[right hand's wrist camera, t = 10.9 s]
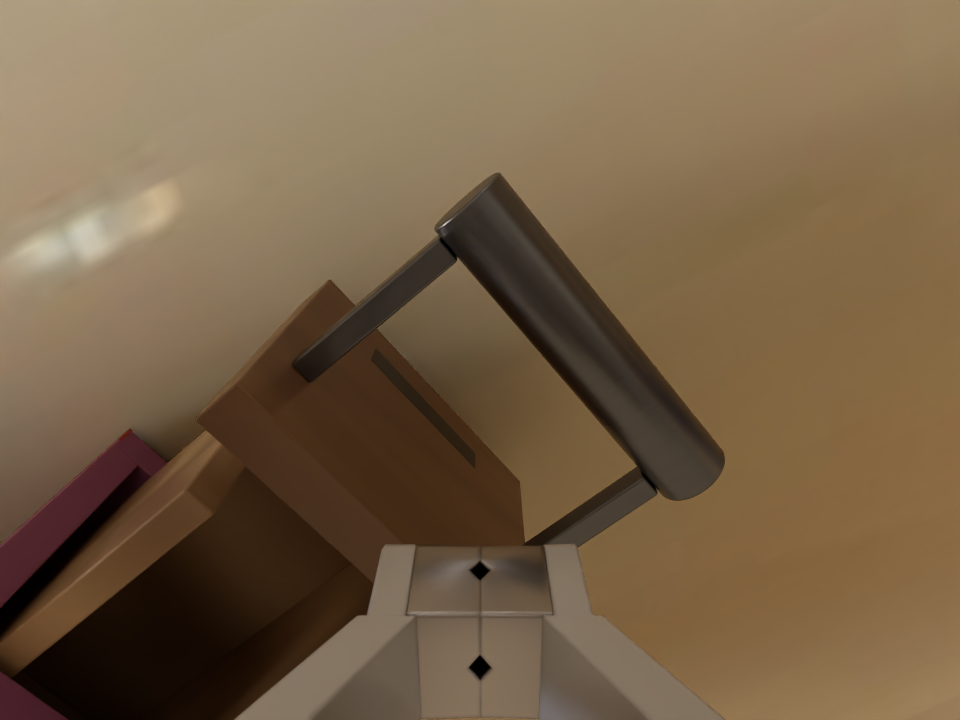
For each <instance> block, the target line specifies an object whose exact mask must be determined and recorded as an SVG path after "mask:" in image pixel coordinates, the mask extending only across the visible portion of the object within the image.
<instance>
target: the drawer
mask: <svg viewBox="0 0 960 720" xmlns="http://www.w3.org/2000/svg"><path fill="white" fill-rule="evenodd" d="M434 229H435V231H436V232H437V234H438V236H437V237H435V238H434V239H433V240H432V241H431V242H430V243H428V244H427V245H426V246H425V247H424V248H423V249H421V250H420V251H419V252H418V253H417V254H416V255H414V256H413V257H412V258H411V259H410V260H409V261H407V262H406V263H405V264H404V265H403V266H402V267H400V268H399V269H398V270H397V271H396V272H395V273H393V274H392V275H391V276H390V277H389V278H388V279H386V280H385V281H384V282H383V283H382V284H381V285H379V286H378V287H377V288H376V289H375V290H374V291H372V292H371V293H370V294H369V295H368V296H366V297H365V298H364V299H363V300H362V301H361V302H359V303H358V304H357V305H356V306H355V305H354V304H353V303H352V302H351V301H350V300H349V299H348V298H347V297H346V296H345V295H344V293H343V292H342V291H341V290H340V289H339V288H338V287H337V286H336V285H335V284H334V283H333V282H332V281H331V280H328V281H327V282H326V283H325V284H323V285H322V286H321V287H320V288H319V289H318V290H317V291H315V292H314V293H313V294H312V295H311V296H310V297H309V298H308V299H306V300H305V301H304V302H303V303H302V304H301V305H300V306H299V307H298V308H297V309H296V310H295V311H294V313H293V314H292V315H291V316H290V317H289V318H288V319H287V320H286V321H285V322H284V323H283V324H282V325H281V327H280V328H279V329H278V330H277V331H276V332H275V333H274V334H273V335H272V336H271V337H270V338H269V339H268V340H267V342H266V343H265V344H264V345H263V346H262V347H261V348H260V349H259V350H258V351H257V352H256V353H255V354H254V355H253V357H252V358H251V359H250V360H249V361H248V362H247V363H246V364H245V365H244V366H243V367H242V368H241V369H240V371H239V372H238V373H237V374H236V375H235V376H234V377H233V378H232V379H231V380H230V381H229V382H228V383H227V384H226V386H225V387H224V388H223V389H222V390H221V391H220V392H219V393H218V394H217V395H216V396H215V397H214V398H213V399H212V401H211V402H210V403H209V404H208V405H207V406H206V407H205V408H204V409H203V410H202V411H201V412H200V413H199V415H198V416H197V417H196V419H195V420H196V421H197V422H198V423H199V424H200V425H201V426H202V427H203V428H204V429H205V431H204V432H203V433H202V434H201V435H199V436H198V437H197V438H196V439H195V440H194V441H192V442H191V443H190V444H189V445H188V446H187V447H185V448H184V449H183V450H182V451H181V452H180V453H178V454H177V455H176V456H175V457H174V458H173V459H171V460H170V461H169V462H168V463H167V464H166V465H164V466H163V467H162V468H161V469H160V470H159V471H157V472H156V473H155V474H154V475H153V476H152V477H150V478H149V479H148V480H147V481H146V482H145V483H143V484H142V485H141V486H140V487H139V488H138V489H136V490H135V491H134V492H133V493H132V494H131V495H129V496H128V497H127V498H126V499H125V500H124V501H122V502H121V503H120V504H119V505H118V506H117V507H115V508H114V509H113V510H112V511H111V512H110V513H108V514H107V515H106V516H105V517H104V518H103V519H101V520H100V521H99V522H98V523H97V524H96V525H94V526H93V527H92V528H91V529H90V530H89V531H87V532H86V533H85V534H84V535H83V536H82V537H80V538H79V539H78V540H77V541H76V542H75V543H73V544H72V545H71V546H70V547H69V548H68V549H66V550H65V551H64V552H63V553H62V554H61V555H59V556H58V557H57V558H56V559H55V560H54V561H52V562H51V563H50V564H49V565H48V566H47V567H45V568H44V569H43V570H42V571H41V572H40V573H38V574H37V575H36V576H35V577H34V578H33V579H31V580H30V581H29V582H28V583H27V584H26V585H24V586H23V587H22V588H21V589H20V590H19V591H17V592H16V593H15V594H14V595H13V596H12V597H11V598H10V599H9V600H8V601H7V602H6V603H5V604H4V605H3V606H2V607H1V608H0V671H1V672H2V673H4V674H5V675H6V676H8V677H9V678H11V679H12V680H14V681H15V682H16V683H18V684H19V685H21V686H22V687H23V688H25V689H26V690H28V691H29V692H30V693H32V694H33V695H35V696H36V697H37V698H39V699H40V700H42V701H43V702H44V703H46V704H47V705H49V706H50V707H51V708H53V709H54V710H56V711H57V712H59V713H60V714H61V715H63V716H64V717H66V718H67V719H68V720H235V718H236V717H238V716H239V715H240V714H241V713H242V712H243V711H245V710H246V709H247V708H248V707H249V706H251V705H252V704H253V703H254V702H255V701H257V700H258V699H259V698H260V697H261V696H262V695H264V694H265V693H266V692H267V691H268V690H270V689H271V688H272V687H273V686H274V685H276V684H277V683H278V682H279V681H280V680H281V679H283V678H284V677H285V676H286V675H287V674H289V673H290V672H291V671H292V670H293V669H295V668H296V667H297V666H298V665H299V664H300V663H302V662H303V661H304V660H305V659H306V658H308V657H309V656H310V655H311V654H312V653H313V652H315V651H316V650H317V649H318V648H319V647H321V646H322V645H323V644H324V643H325V642H327V641H328V640H329V639H330V638H331V637H332V636H334V635H335V634H336V633H337V632H338V631H340V630H341V629H342V628H343V627H344V626H346V625H347V624H348V623H349V622H350V621H351V620H353V619H354V618H355V617H356V616H361V615H367V613H368V608H369V604H370V599H371V595H372V590H373V586H374V582H375V577H376V573H377V568H378V564H379V559H380V555H381V551H382V548H383V547H384V546H385V544H415V545H418V544H426V545H473V546H543V545H552V544H575V545H576V546H577V547H579V546H581V545H582V544H584V543H585V542H587V541H588V540H590V539H591V538H593V537H594V536H596V535H597V534H599V533H600V532H602V531H603V530H605V529H606V528H608V527H609V526H611V525H612V524H614V523H615V522H617V521H618V520H620V519H621V518H623V517H624V516H626V515H627V514H629V513H630V512H632V511H633V510H635V509H636V508H638V507H639V506H641V505H642V504H644V503H645V502H647V501H648V500H650V499H651V498H653V497H654V496H656V495H657V494H658V492H657V490H658V491H659V492H660V493H661V494H662V495H663V496H664V497H665V498H667V499H670V500H675V501H680V500H686V499H689V498H692V497H694V496H697V495H699V494H700V493H702V492H703V491H705V490H706V489H708V488H709V487H710V486H711V485H712V484H713V483H714V482H715V481H716V480H717V478H718V477H719V476H720V474H721V472H722V470H723V468H724V464H725V456H724V452H723V450H722V449H721V448H720V447H719V445H718V444H717V443H716V442H715V440H714V439H713V438H712V437H711V435H710V434H709V433H708V432H707V430H706V429H705V428H704V427H703V425H702V424H701V423H700V422H699V420H698V419H697V418H696V417H695V415H694V414H693V413H692V412H691V410H690V409H689V408H688V407H687V405H686V404H685V403H684V402H683V400H682V399H681V398H680V397H679V395H678V394H677V393H676V392H675V390H674V389H673V388H672V387H671V385H670V384H669V383H668V382H667V381H666V379H665V378H664V377H663V376H662V374H661V373H660V372H659V371H658V369H657V368H656V367H655V366H654V364H653V363H652V362H651V361H650V359H649V358H648V357H647V356H646V354H645V353H644V352H643V351H642V349H641V348H640V347H639V346H638V344H637V343H636V342H635V341H634V339H633V338H632V337H631V336H630V334H629V333H628V332H627V331H626V329H625V328H624V327H623V326H622V324H621V323H620V322H619V321H618V319H617V318H616V317H615V316H614V314H613V313H612V312H611V311H610V309H609V308H608V307H607V306H606V304H605V303H604V302H603V301H602V299H601V298H600V297H599V296H598V294H597V293H596V292H595V291H594V289H593V288H592V287H591V286H590V284H589V283H588V282H587V281H586V280H585V278H584V277H583V276H582V275H581V273H580V272H579V271H578V270H577V268H576V267H575V266H574V265H573V263H572V262H571V261H570V260H569V258H568V257H567V256H566V255H565V253H564V252H563V251H562V250H561V248H560V247H559V246H558V245H557V243H556V242H555V241H554V240H553V238H552V237H551V236H550V235H549V233H548V232H547V231H546V230H545V228H544V227H543V226H542V225H541V223H540V222H539V221H538V220H537V218H536V217H535V216H534V215H533V213H532V212H531V211H530V210H529V208H528V207H527V206H526V205H525V203H524V202H523V201H522V200H521V198H520V197H519V196H518V195H517V193H516V192H515V191H514V190H513V188H512V187H511V186H510V185H509V183H508V182H507V181H506V180H505V179H504V177H503V176H502V175H501V174H500V173H499V172H498V173H495V174H493V175H491V176H490V177H488V178H487V179H486V180H484V181H483V182H482V183H480V184H479V185H478V186H477V187H475V188H474V189H473V190H472V191H471V192H469V193H468V194H467V195H466V196H465V197H464V198H462V199H461V200H460V201H459V202H458V203H457V204H456V205H455V206H454V207H453V208H451V209H450V210H449V211H448V212H447V213H446V214H445V215H444V216H443V217H442V218H441V219H440V221H439V222H438V223H437V224H436V226H435V228H434ZM457 258H459V259H460V260H461V262H462V263H463V264H464V265H465V266H466V267H467V269H468V270H469V271H470V272H471V273H472V274H473V276H474V277H475V278H476V279H477V280H478V281H479V283H480V284H481V285H482V286H483V287H484V288H485V289H486V291H487V292H488V293H489V294H490V295H491V296H492V298H493V299H494V300H495V301H496V302H497V303H498V305H499V306H500V307H501V308H502V309H503V310H504V312H505V313H506V314H507V315H508V316H509V317H510V319H511V320H512V321H513V322H514V323H515V324H516V326H517V327H518V328H519V329H520V330H521V331H522V333H523V334H524V335H525V336H526V337H527V338H528V340H529V341H530V342H531V343H532V344H533V345H534V346H535V348H536V349H537V350H538V351H539V352H540V353H541V355H542V356H543V357H544V358H545V359H546V360H547V362H548V363H549V364H550V365H551V366H552V367H553V369H554V370H555V371H556V372H557V373H558V374H559V376H560V377H561V378H562V379H563V380H564V381H565V383H566V384H567V385H568V386H569V387H570V388H571V390H572V391H573V392H574V393H575V394H576V395H577V397H578V398H579V399H580V400H581V401H582V402H583V403H584V405H585V406H586V407H587V408H588V409H589V410H590V412H591V413H592V414H593V415H594V416H595V417H596V419H597V420H598V421H599V422H600V423H601V424H602V426H603V427H604V428H605V429H606V430H607V431H608V433H609V434H610V435H611V436H612V437H613V438H614V440H615V441H616V442H617V443H618V444H619V445H620V447H621V448H622V449H623V450H624V451H625V452H626V454H627V455H628V456H629V457H630V458H631V459H632V460H633V462H634V463H635V464H636V465H637V466H638V467H636V468H634V469H633V470H632V471H630V472H629V473H627V474H626V475H624V476H623V477H621V478H620V479H618V480H617V481H615V482H614V483H612V484H611V485H610V486H608V487H607V488H605V489H604V490H602V491H601V492H599V493H598V494H596V495H595V496H593V497H592V498H590V499H589V500H588V501H586V502H585V503H583V504H582V505H580V506H579V507H577V508H576V509H574V510H573V511H571V512H570V513H568V514H567V515H566V516H564V517H563V518H561V519H560V520H558V521H557V522H555V523H554V524H552V525H551V526H549V527H548V528H546V529H545V530H544V531H542V532H541V533H539V534H538V535H536V536H535V537H533V538H532V539H530V540H529V541H527V542H526V543H525V538H524V526H523V515H522V503H521V491H520V481H519V480H518V479H517V478H516V477H515V476H514V475H513V474H512V473H511V472H510V471H509V469H508V468H507V467H506V466H505V465H504V464H503V463H502V462H501V461H500V460H499V459H498V458H497V457H496V456H495V455H494V453H493V452H492V451H491V450H490V449H489V448H488V447H487V446H486V445H485V444H484V443H483V442H482V441H481V440H480V439H479V437H478V436H477V435H476V434H475V433H474V432H473V431H472V430H471V429H470V428H469V427H468V426H467V425H466V424H465V423H464V421H463V420H462V419H461V418H460V417H459V416H458V415H457V414H456V413H455V412H454V411H453V410H452V409H451V408H450V407H449V405H448V404H447V403H446V402H445V401H444V400H443V399H442V398H441V397H440V396H439V395H438V394H437V393H436V392H435V391H434V389H433V388H432V387H431V386H430V385H429V384H428V383H427V382H426V381H425V380H424V379H423V378H422V377H421V376H420V375H419V373H418V372H417V371H416V370H415V369H414V368H413V367H412V366H411V365H410V364H409V363H408V362H407V361H406V360H405V359H404V357H403V356H402V355H401V354H400V353H399V352H398V351H397V350H396V349H395V348H394V347H393V346H392V345H391V344H390V343H389V341H388V340H387V339H386V338H385V337H384V336H383V335H382V334H381V333H380V332H379V331H378V330H377V328H378V327H379V326H380V325H381V324H383V323H384V322H385V321H386V320H387V319H389V318H390V317H391V316H392V315H393V314H395V313H396V312H397V311H398V310H399V309H401V308H402V307H403V306H404V305H405V304H407V303H408V302H409V301H410V300H411V299H413V298H414V297H415V296H416V295H417V294H418V293H420V292H421V291H422V290H423V289H424V288H426V287H427V286H428V285H429V284H430V283H432V282H433V281H434V280H435V279H436V278H438V277H439V276H440V275H441V274H442V273H444V272H445V271H446V270H447V269H448V268H450V267H451V266H452V265H453V264H454V263H456V261H457ZM656 488H657V490H656Z"/></svg>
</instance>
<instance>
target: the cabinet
mask: <svg viewBox="0 0 960 720" xmlns="http://www.w3.org/2000/svg"><path fill="white" fill-rule="evenodd" d="M132 431H133V430H132V429H129V430H128V431H126V432H125V433H124V434H123V435H122V436H121V437H120V438H119V439H118V440H116V441H115V442H114V443H113V444H112V445H111V446H110V447H109V448H107V449H106V450H105V451H104V452H103V453H102V454H101V455H100V456H99V457H97V458H96V459H95V460H94V461H93V462H92V463H91V464H90V465H88V466H87V467H86V468H85V469H84V470H83V471H82V472H81V473H80V474H78V475H77V476H76V477H75V478H74V479H73V480H72V481H71V482H69V483H68V484H67V485H66V486H65V487H64V488H63V489H62V490H61V491H59V492H58V493H57V494H56V495H55V496H54V497H53V498H52V499H50V500H49V501H48V502H47V503H46V504H45V505H44V506H43V507H42V508H40V509H39V510H38V511H37V512H36V513H35V514H34V515H33V516H31V517H30V518H29V519H28V520H27V521H26V522H25V523H24V524H23V525H21V526H20V527H19V528H18V529H17V530H16V531H15V532H14V533H12V534H11V535H10V536H9V537H8V538H7V539H6V540H5V541H4V542H2V543H1V544H0V608H1V607H2V606H3V605H4V604H5V603H6V602H7V601H8V600H9V599H10V598H11V597H12V596H13V595H14V594H15V593H16V592H17V591H19V590H20V589H21V588H22V587H23V586H24V585H26V584H27V583H28V582H29V581H30V580H31V579H33V578H34V577H35V576H36V575H37V574H38V573H40V572H41V571H42V570H43V569H44V568H45V567H47V566H48V565H49V564H50V563H51V562H52V561H54V560H55V559H56V558H57V557H58V556H59V555H61V554H62V553H63V552H64V551H65V550H66V549H68V548H69V547H70V546H71V545H72V544H73V543H75V542H76V541H77V540H78V539H79V538H80V537H82V536H83V535H84V534H85V533H86V532H87V531H89V530H90V529H91V528H92V527H93V526H94V525H96V524H97V523H98V522H99V521H100V520H101V519H103V518H104V517H105V516H106V515H107V514H108V513H110V512H111V511H112V510H113V509H114V508H115V507H117V506H118V505H119V504H120V503H121V502H122V501H124V500H125V499H126V498H127V497H128V496H129V495H131V494H132V493H133V492H134V491H135V490H136V489H138V488H139V487H140V486H141V485H142V484H143V483H145V482H146V481H147V480H148V479H149V478H150V477H152V476H153V475H154V474H155V473H156V472H157V471H159V470H160V469H161V468H162V467H163V466H164V465H166V464H167V462H166V461H165V460H164V459H162V458H161V457H160V456H159V455H158V454H157V453H156V452H155V451H153V450H152V449H151V448H150V447H149V446H148V445H147V444H145V443H144V442H143V441H142V440H141V439H140V438H139V437H137V436H136V435H135V434H134V433H133V432H132ZM0 720H68V719H67V718H66V717H64V716H63V715H61V714H60V713H59V712H57V711H56V710H54V709H53V708H51V707H50V706H49V705H47V704H46V703H44V702H43V701H42V700H40V699H39V698H37V697H36V696H35V695H33V694H32V693H30V692H29V691H28V690H26V689H25V688H23V687H22V686H21V685H19V684H18V683H16V682H15V681H14V680H12V679H11V678H9V677H8V676H6V675H5V674H4V673H2V672H1V671H0Z"/></svg>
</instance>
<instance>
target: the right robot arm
mask: <svg viewBox="0 0 960 720" xmlns="http://www.w3.org/2000/svg"><path fill="white" fill-rule="evenodd" d="M471 717H488V718H523V719H539V720H725V719H724V718H723V717H722V716H721V715H720V714H718V713H717V712H716V711H715V710H714V709H712V708H711V707H710V706H709V705H708V704H707V703H705V702H704V701H703V700H702V699H701V698H699V697H698V696H697V695H696V694H695V693H694V692H692V691H691V690H690V689H689V688H688V687H686V686H685V685H684V684H683V683H682V682H681V681H679V680H678V679H677V678H676V677H675V676H674V675H672V674H671V673H670V672H669V671H668V670H666V669H665V668H664V667H663V666H662V665H661V664H659V663H658V662H657V661H656V660H655V659H653V658H652V657H651V656H650V655H649V654H648V653H646V652H645V651H644V650H643V649H642V648H640V647H639V646H638V645H637V644H636V643H635V642H633V641H632V640H631V639H630V638H629V637H627V636H626V635H625V634H624V633H623V632H622V631H620V630H619V629H618V628H617V627H616V626H614V625H613V624H612V623H611V622H610V621H609V620H607V619H606V618H605V617H604V616H600V615H593V613H592V608H591V604H590V599H589V595H588V591H587V586H586V582H585V578H584V573H583V569H582V564H581V560H580V556H579V551H578V547H577V546H576V545H575V544H552V545H543V546H473V545H426V544H418V545H415V544H385V546H384V547H383V548H382V551H381V555H380V559H379V564H378V568H377V573H376V577H375V582H374V586H373V590H372V595H371V599H370V604H369V608H368V613H367V615H361V616H356V617H355V618H354V619H353V620H351V621H350V622H349V623H348V624H347V625H346V626H344V627H343V628H342V629H341V630H340V631H338V632H337V633H336V634H335V635H334V636H332V637H331V638H330V639H329V640H328V641H327V642H325V643H324V644H323V645H322V646H321V647H319V648H318V649H317V650H316V651H315V652H313V653H312V654H311V655H310V656H309V657H308V658H306V659H305V660H304V661H303V662H302V663H300V664H299V665H298V666H297V667H296V668H295V669H293V670H292V671H291V672H290V673H289V674H287V675H286V676H285V677H284V678H283V679H281V680H280V681H279V682H278V683H277V684H276V685H274V686H273V687H272V688H271V689H270V690H268V691H267V692H266V693H265V694H264V695H262V696H261V697H260V698H259V699H258V700H257V701H255V702H254V703H253V704H252V705H251V706H249V707H248V708H247V709H246V710H245V711H243V712H242V713H241V714H240V715H239V716H238V717H236V718H235V720H421V719H437V718H471Z"/></svg>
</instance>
